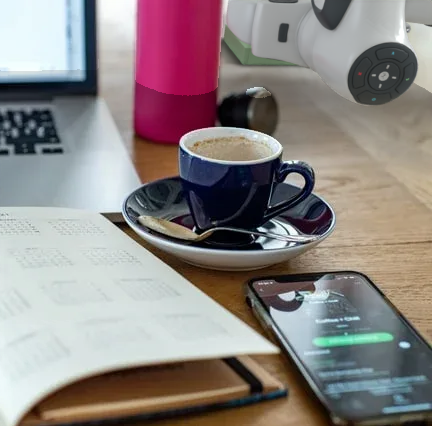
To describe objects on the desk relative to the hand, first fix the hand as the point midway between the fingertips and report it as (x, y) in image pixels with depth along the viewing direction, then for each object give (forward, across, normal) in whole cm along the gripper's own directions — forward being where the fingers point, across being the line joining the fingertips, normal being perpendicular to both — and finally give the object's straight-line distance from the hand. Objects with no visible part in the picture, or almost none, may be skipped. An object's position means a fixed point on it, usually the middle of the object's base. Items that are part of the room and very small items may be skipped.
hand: (294, 0), depth 112 cm
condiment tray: (+6, 0, +9) cm, 11 cm away
